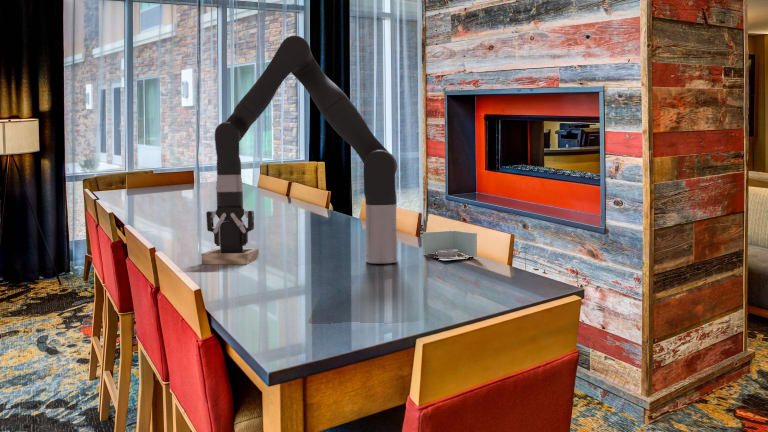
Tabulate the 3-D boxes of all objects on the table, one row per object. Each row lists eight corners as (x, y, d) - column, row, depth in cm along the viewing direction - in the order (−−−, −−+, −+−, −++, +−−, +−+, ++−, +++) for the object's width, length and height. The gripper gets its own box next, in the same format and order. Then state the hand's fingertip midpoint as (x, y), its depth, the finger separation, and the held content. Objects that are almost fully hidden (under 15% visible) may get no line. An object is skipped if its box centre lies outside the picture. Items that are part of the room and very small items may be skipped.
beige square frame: (258, 258, 191) (258, 248, 191) (247, 264, 178) (247, 253, 178) (216, 258, 192) (215, 248, 192) (201, 264, 179) (201, 253, 178)
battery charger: (240, 257, 188) (240, 220, 188) (244, 258, 185) (243, 220, 184) (217, 258, 185) (216, 220, 184) (220, 260, 182) (219, 221, 181)
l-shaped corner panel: (423, 255, 195) (423, 232, 194) (455, 253, 200) (455, 230, 200) (443, 260, 184) (443, 235, 183) (476, 257, 189) (476, 233, 189)
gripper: (256, 189, 187) (258, 244, 188) (209, 190, 188) (211, 244, 189) (250, 190, 180) (251, 246, 181) (201, 190, 180) (203, 247, 181)
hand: (231, 245), depth 185 cm, fingers closed on battery charger, 7 cm apart
